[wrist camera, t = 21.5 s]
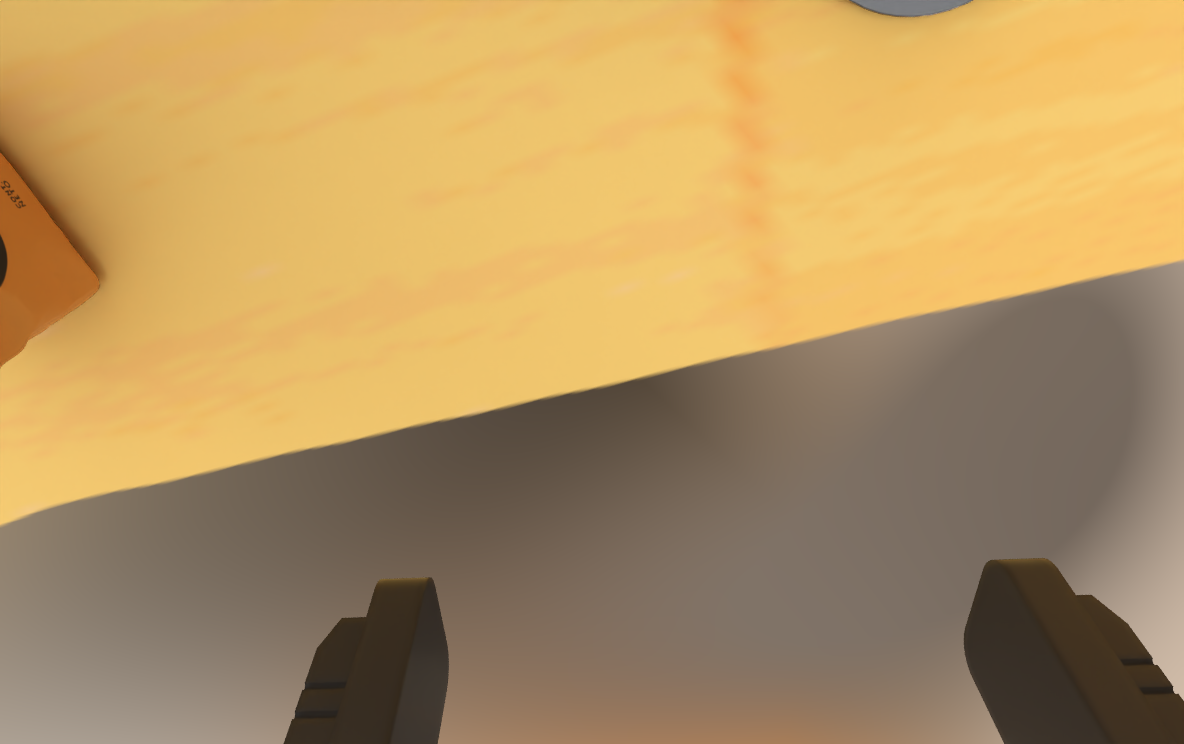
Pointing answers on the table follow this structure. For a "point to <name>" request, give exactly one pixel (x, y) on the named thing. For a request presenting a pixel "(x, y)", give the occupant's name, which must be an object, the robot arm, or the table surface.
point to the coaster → (909, 6)
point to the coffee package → (34, 267)
